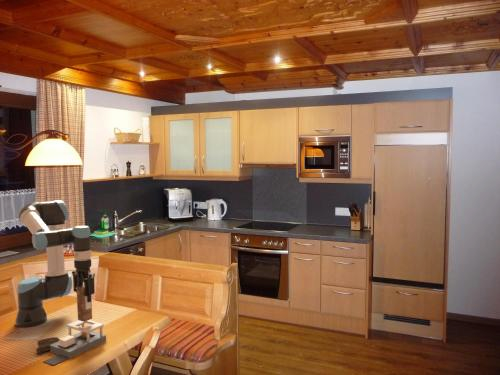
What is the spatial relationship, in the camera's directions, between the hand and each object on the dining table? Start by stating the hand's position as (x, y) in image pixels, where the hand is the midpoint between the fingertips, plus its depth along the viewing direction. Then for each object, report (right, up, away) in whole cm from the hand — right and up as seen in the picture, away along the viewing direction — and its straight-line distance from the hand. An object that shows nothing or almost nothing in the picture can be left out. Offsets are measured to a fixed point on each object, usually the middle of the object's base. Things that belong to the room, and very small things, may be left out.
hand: (84, 307), depth 197 cm
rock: (-16, -18, -3) cm, 24 cm away
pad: (-6, -19, -16) cm, 25 cm away
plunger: (0, -14, +1) cm, 14 cm away
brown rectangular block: (0, -6, 0) cm, 6 cm away
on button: (-5, -15, -8) cm, 17 cm away
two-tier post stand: (-2, -18, -2) cm, 18 cm away
